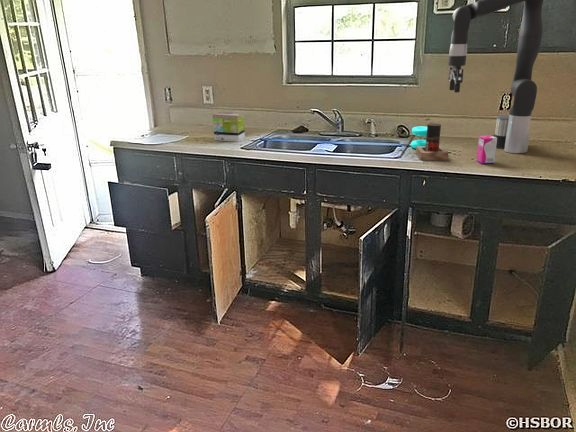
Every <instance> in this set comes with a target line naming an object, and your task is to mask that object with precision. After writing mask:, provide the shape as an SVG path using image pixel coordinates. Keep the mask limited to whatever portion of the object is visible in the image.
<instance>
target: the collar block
mask: <svg viewBox="0 0 576 432" xmlns="http://www.w3.org/2000/svg"><path fill="white" fill-rule="evenodd" d="M425 147H426V146H421V147H416V149H415V155H416V156H417V158H418V159H419V160H420V161H448V157H449V152H448V151H447V149H445V148H444V146H443V145H439V151H431V152H425Z"/></svg>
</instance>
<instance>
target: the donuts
mask: <svg viewBox="0 0 576 432" xmlns="http://www.w3.org/2000/svg"><path fill="white" fill-rule="evenodd" d="M411 133H412V134H413V135H414V136H417V137H426V135H427V126H414V127H413V128H412V129H411ZM421 146H426V139H416V140H415V139H414V140H413V141H411V143H410V147H411V148H412V149H414V150H416V147H421Z"/></svg>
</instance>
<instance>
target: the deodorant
mask: <svg viewBox="0 0 576 432" xmlns="http://www.w3.org/2000/svg"><path fill="white" fill-rule="evenodd" d="M426 127H427V135H426V136H425V138H426V139H425V140H426V147H425V152H431V151H439V146H440V140H441V139H440V137H441V128H442V125H441V123H434V122H433V123H431V122H430V123H427V126H426Z"/></svg>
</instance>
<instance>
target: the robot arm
mask: <svg viewBox="0 0 576 432" xmlns="http://www.w3.org/2000/svg"><path fill="white" fill-rule="evenodd" d="M522 2H523V11H522V19H521V23H520V29H519V34H518V41H517V51H516V59H515V60H516V62H515V68H514V73H513V79H512V82H511V86H510V93H511V95H512V97H513V101H512V102H513V103H512V106H511V107H510V109H509V114H508V116H509V119H508V126H507V133H506V140H505V147H504V149H503V151H504V152H506V153H509V154H524V153H528V149H529V142H530V135H531V132H530V126H531V125H530V124H531V117H532V114H533V113H532V112H533V110H534V108H535V104H536V99H537V92H538V87H537V86H538V85H537V84H536V83H535V81H533V80H532V78H533V76H532V75H533V68H534V65H535V62H536V61H537V60H536V59H537V58H538V55H539V53H540V50H541V47H542V41H543V32H544V30H543V29H544V28H543V26H544V25H543V19H542V17H543V16H542V9H543V4H544V0H477V1H475V2H472V3H469V4H468V3H467V4H465V5H463V6H459V7H457V8H455V10H454V11H453V13H452V20H453V28H452V29H453V30H452V32H451V37H450V46H449V53H448V61H447V62H448V66H450V67H449V71H448V81H449V88H448V89H449V91H454V93H460V91H461V84H462V83H463V81H464V68H462V66H465V65H466V62H467V55H468V54H467V53H468V37H469V29H470V27H471V26H470V24H471V21H472V20H475V19H478V18H481V17H485V16H488V15H491V14H494V13H496V12H498V11H501V10H503V9H506V8H508V7H510V6H513V5H516V4H518V3H522Z"/></svg>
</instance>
